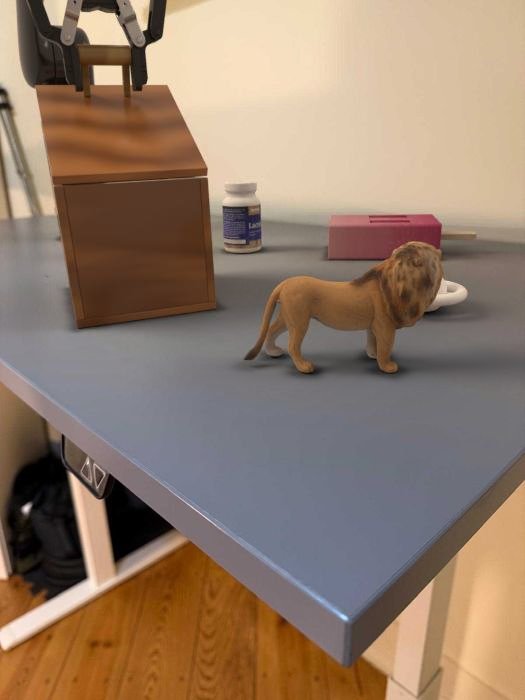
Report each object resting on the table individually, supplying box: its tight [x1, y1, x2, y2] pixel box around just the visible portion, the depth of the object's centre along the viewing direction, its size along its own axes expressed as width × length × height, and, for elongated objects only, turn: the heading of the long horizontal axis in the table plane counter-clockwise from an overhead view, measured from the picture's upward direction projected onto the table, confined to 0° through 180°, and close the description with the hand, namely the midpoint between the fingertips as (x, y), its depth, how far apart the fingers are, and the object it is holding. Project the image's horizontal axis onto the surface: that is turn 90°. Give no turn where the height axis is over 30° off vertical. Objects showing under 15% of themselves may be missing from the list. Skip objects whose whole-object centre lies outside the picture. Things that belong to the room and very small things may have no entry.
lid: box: [34, 43, 209, 185], centre depth 51 cm, size 16×14×6 cm
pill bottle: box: [221, 180, 263, 254], centre depth 80 cm, size 6×6×10 cm
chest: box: [50, 176, 217, 329], centre depth 57 cm, size 16×14×13 cm
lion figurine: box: [242, 241, 444, 374], centre depth 40 cm, size 15×5×9 cm, turn 93°
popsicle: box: [327, 213, 478, 261], centre depth 76 cm, size 9×5×20 cm
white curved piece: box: [424, 276, 468, 313], centre depth 52 cm, size 8×6×8 cm
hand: (108, 90), depth 54 cm, fingers closed on lid, 5 cm apart
